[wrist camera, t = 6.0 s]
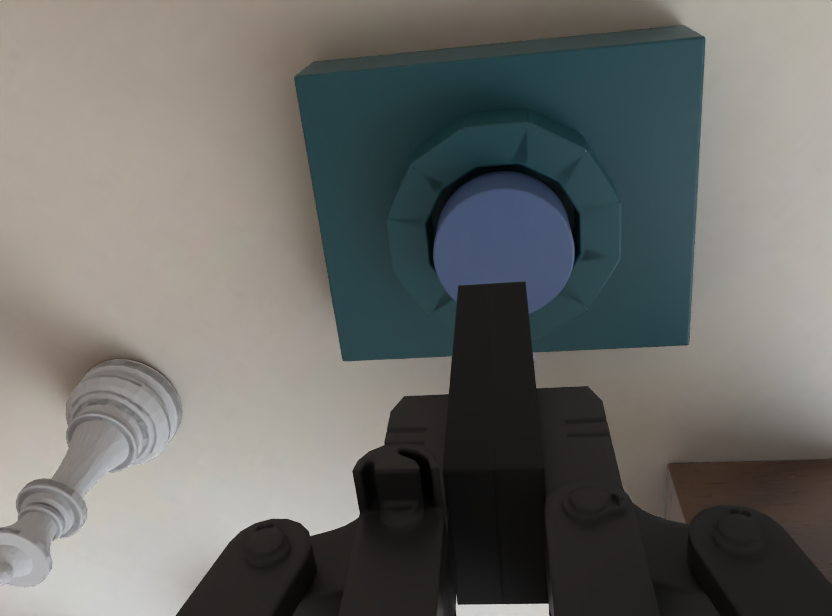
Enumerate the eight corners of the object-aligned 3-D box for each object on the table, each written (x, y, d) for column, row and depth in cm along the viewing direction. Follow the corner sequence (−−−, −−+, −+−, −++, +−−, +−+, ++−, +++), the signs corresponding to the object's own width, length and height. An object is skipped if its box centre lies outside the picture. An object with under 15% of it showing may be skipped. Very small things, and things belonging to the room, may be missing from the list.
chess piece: (109, 337, 31) (-45, 502, 23) (201, 396, 32) (89, 578, 23) (64, 407, 33) (-94, 585, 24) (154, 461, 34) (32, 652, 25)
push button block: (685, 24, 24) (723, 45, 20) (673, 310, 29) (702, 373, 25) (311, 61, 26) (277, 87, 22) (354, 327, 30) (332, 389, 26)
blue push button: (568, 164, 22) (573, 183, 21) (570, 290, 24) (576, 315, 23) (431, 175, 23) (426, 194, 21) (443, 297, 25) (439, 322, 23)
